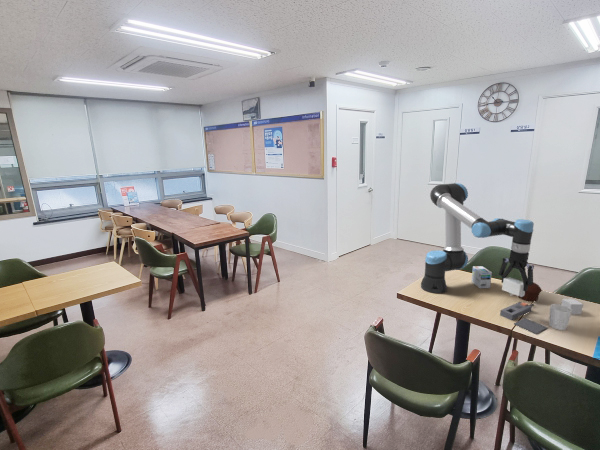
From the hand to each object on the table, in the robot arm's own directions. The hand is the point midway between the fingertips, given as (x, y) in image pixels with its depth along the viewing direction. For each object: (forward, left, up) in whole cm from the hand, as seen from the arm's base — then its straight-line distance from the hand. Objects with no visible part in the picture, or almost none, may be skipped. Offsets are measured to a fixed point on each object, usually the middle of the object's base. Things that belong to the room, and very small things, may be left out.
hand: (512, 292), depth 163 cm
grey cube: (+14, +31, -13) cm, 36 cm away
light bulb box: (-31, +23, -13) cm, 40 cm away
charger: (0, 0, -1) cm, 1 cm away
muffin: (-6, +28, -13) cm, 31 cm away
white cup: (+18, +9, -13) cm, 24 cm away
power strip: (0, +9, -13) cm, 16 cm away
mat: (+11, -2, -13) cm, 17 cm away
